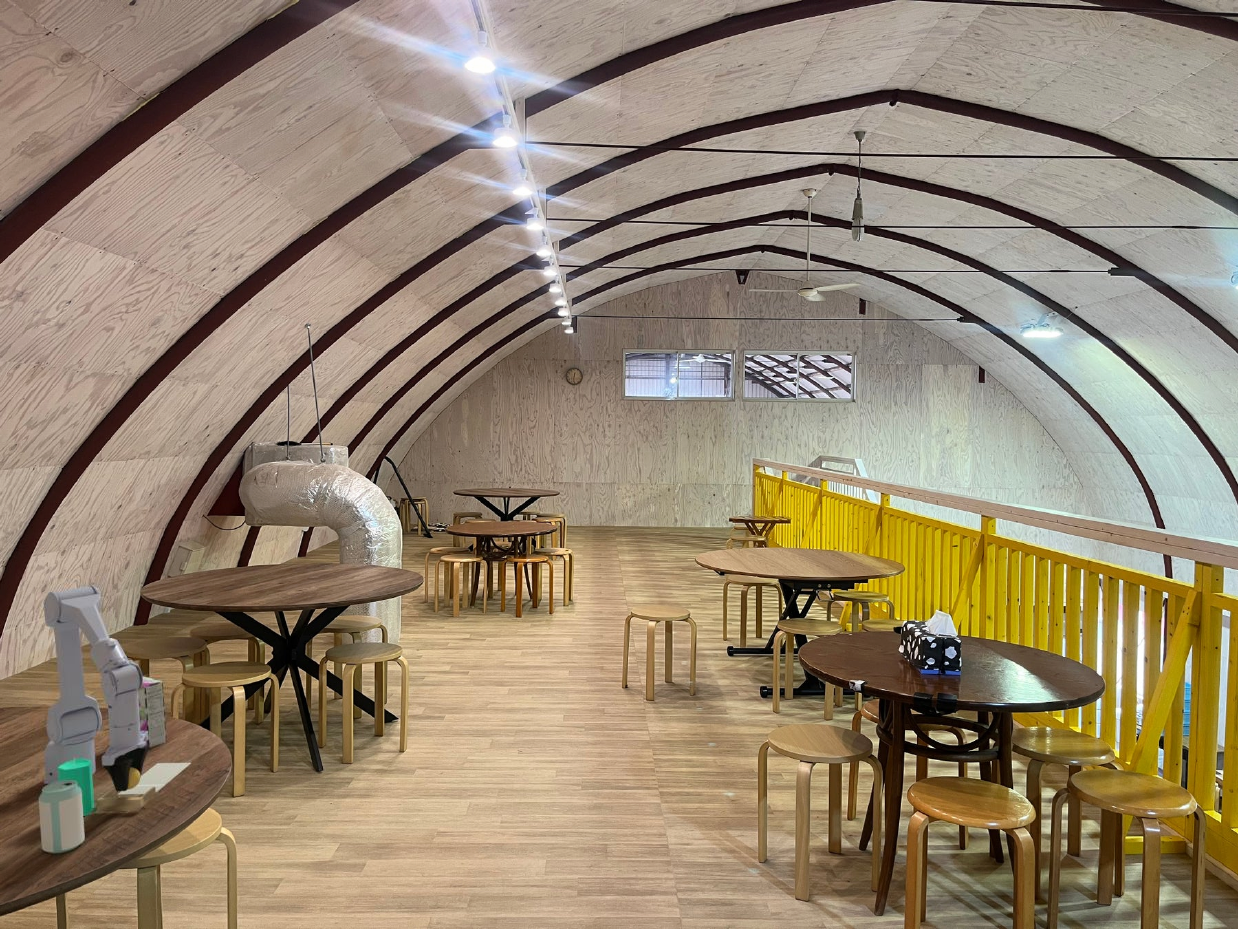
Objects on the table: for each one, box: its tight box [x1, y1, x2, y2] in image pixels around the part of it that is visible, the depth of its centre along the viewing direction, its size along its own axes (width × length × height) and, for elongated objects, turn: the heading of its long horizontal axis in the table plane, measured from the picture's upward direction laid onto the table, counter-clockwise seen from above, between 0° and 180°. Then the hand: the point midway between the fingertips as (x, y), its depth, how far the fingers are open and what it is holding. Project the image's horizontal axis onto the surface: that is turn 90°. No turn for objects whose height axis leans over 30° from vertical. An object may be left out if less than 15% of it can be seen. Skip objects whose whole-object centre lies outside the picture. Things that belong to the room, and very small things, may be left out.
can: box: [38, 780, 86, 854], centre depth 178 cm, size 7×7×12 cm
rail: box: [95, 787, 157, 812], centre depth 196 cm, size 9×6×2 cm
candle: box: [58, 757, 95, 817], centre depth 192 cm, size 6×6×12 cm
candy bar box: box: [137, 675, 167, 748], centre depth 231 cm, size 11×5×16 cm, turn 58°
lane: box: [116, 762, 192, 796], centre depth 205 cm, size 8×22×1 cm, turn 179°
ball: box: [127, 767, 140, 790], centre depth 196 cm, size 4×4×4 cm
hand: (128, 785), depth 197 cm, fingers closed on ball, 4 cm apart
